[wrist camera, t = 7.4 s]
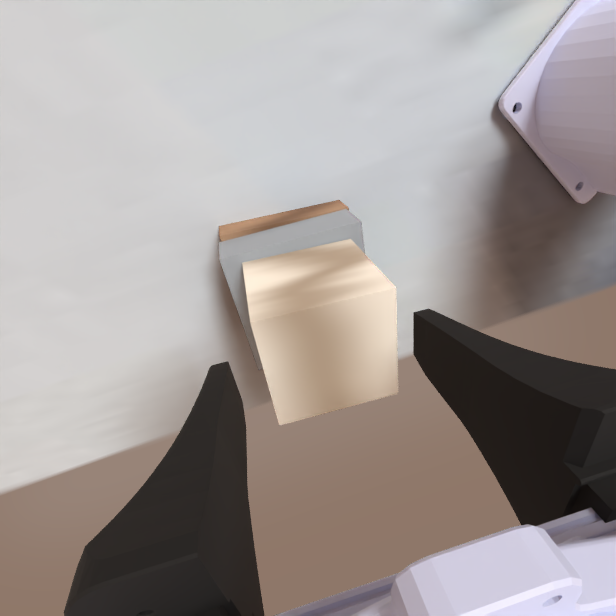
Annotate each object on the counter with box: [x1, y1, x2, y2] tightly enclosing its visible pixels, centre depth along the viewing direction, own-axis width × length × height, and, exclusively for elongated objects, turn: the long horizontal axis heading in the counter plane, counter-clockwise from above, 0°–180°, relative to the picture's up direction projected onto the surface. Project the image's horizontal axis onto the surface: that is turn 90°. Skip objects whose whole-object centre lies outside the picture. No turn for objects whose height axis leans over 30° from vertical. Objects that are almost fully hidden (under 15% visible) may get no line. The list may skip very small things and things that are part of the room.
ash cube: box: [242, 239, 398, 426], centre depth 15 cm, size 5×5×5 cm
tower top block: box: [219, 209, 365, 370], centre depth 18 cm, size 6×6×2 cm
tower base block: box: [219, 200, 349, 242], centre depth 20 cm, size 6×6×2 cm
